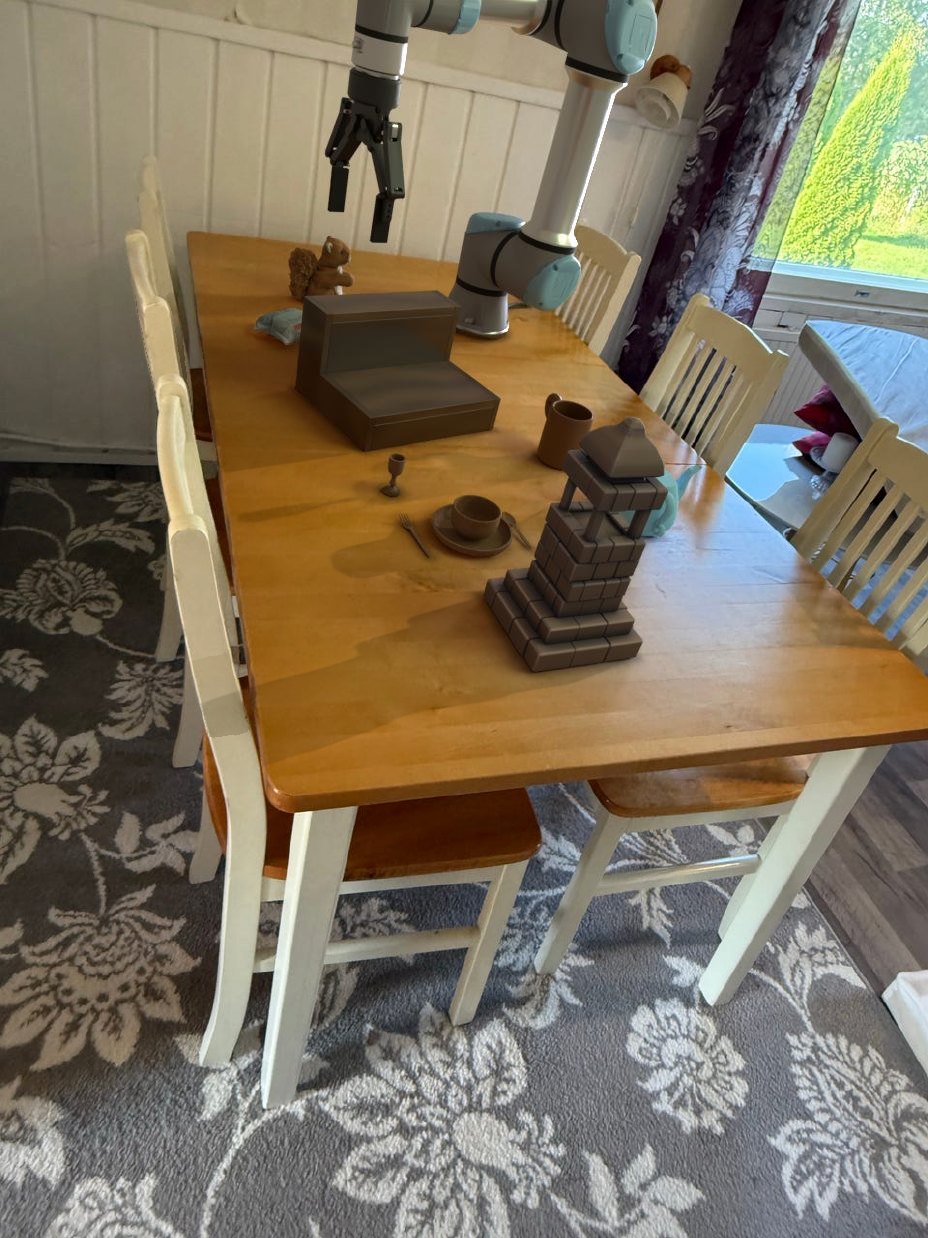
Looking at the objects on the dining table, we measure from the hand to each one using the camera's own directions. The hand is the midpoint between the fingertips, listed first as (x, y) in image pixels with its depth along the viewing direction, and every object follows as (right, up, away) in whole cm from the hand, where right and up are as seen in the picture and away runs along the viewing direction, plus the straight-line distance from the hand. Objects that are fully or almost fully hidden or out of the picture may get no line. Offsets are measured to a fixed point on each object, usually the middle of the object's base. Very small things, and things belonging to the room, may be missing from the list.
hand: (356, 226), depth 135 cm
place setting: (+16, -48, -10) cm, 51 cm away
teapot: (+44, -47, +1) cm, 65 cm away
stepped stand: (+5, -26, +13) cm, 29 cm away
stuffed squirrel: (-14, +4, +44) cm, 46 cm away
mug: (+32, -34, +14) cm, 48 cm away
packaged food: (-15, -10, +26) cm, 32 cm away
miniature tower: (+29, -63, -24) cm, 74 cm away
